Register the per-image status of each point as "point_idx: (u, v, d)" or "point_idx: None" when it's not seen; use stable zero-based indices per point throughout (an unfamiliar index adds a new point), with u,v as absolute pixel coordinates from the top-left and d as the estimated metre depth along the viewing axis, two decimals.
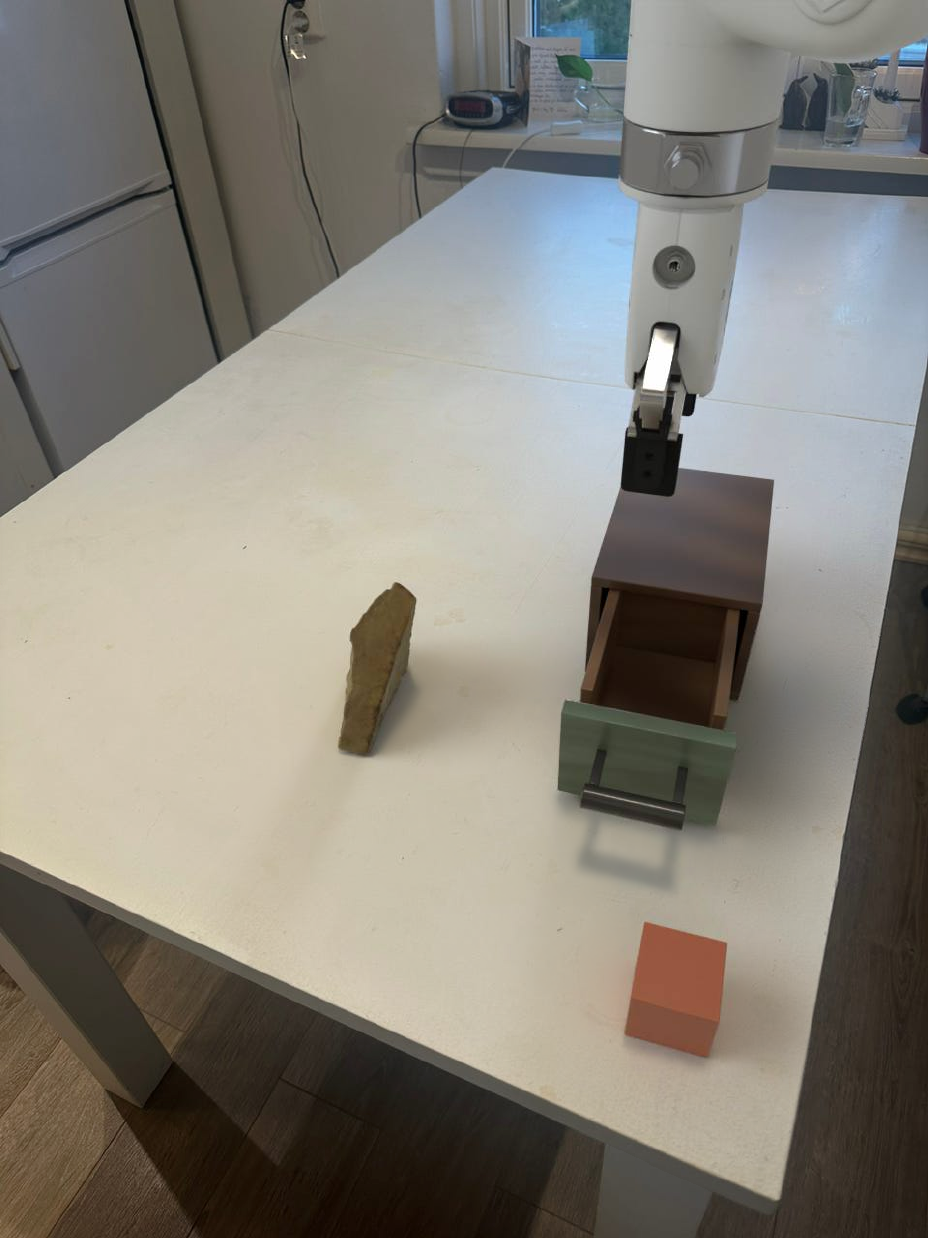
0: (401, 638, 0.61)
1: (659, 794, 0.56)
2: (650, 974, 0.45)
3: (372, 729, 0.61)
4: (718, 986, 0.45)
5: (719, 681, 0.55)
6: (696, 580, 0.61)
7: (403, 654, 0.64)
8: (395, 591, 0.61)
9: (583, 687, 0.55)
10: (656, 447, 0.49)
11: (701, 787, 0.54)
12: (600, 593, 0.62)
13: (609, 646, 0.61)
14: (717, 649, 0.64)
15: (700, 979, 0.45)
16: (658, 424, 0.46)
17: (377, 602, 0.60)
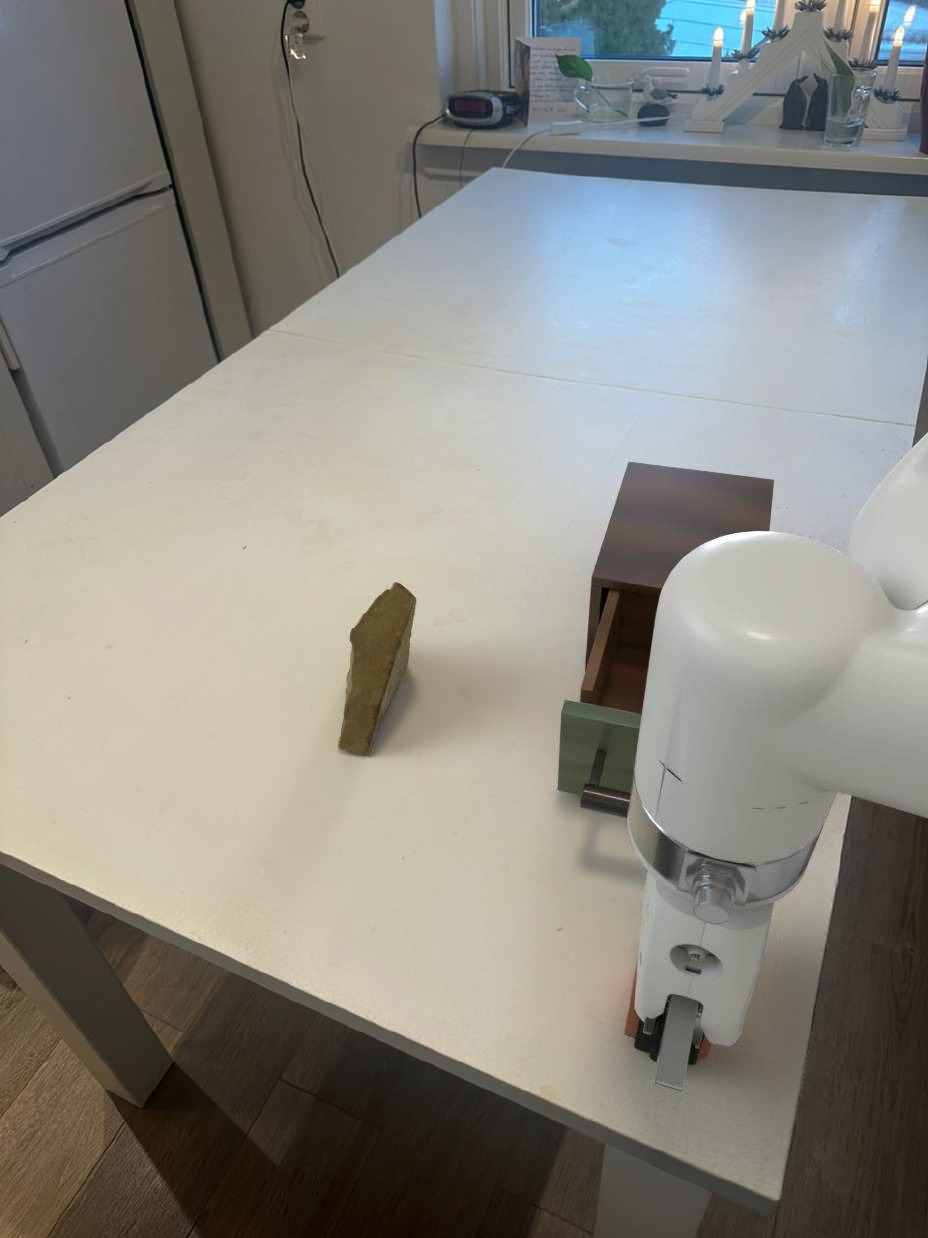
0: (401, 638, 0.61)
1: None
2: None
3: (372, 729, 0.61)
4: None
5: None
6: None
7: (403, 654, 0.64)
8: (395, 591, 0.61)
9: (583, 687, 0.55)
10: None
11: None
12: (600, 593, 0.62)
13: (609, 646, 0.61)
14: None
15: None
16: None
17: (377, 602, 0.60)
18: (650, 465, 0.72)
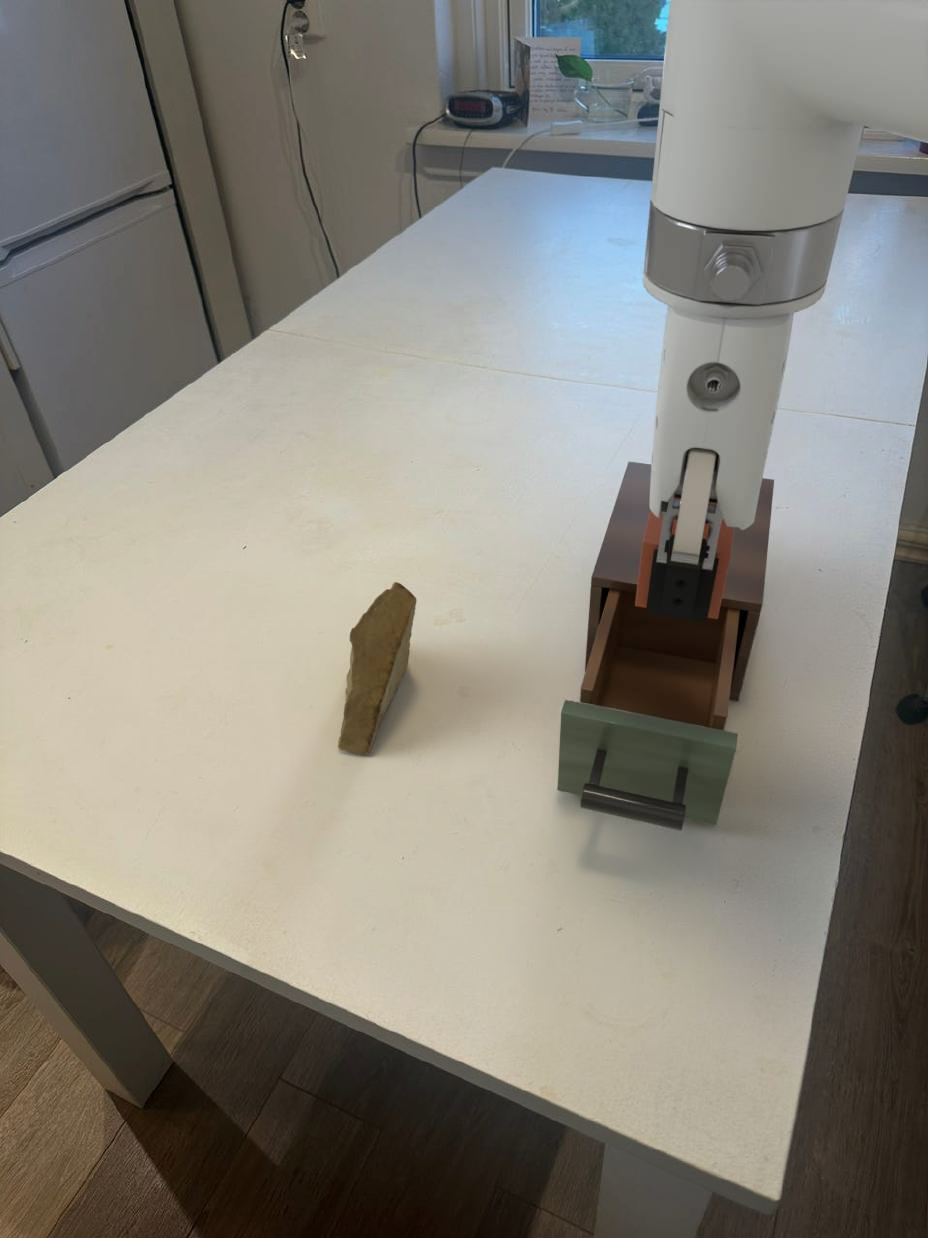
0: (401, 638, 0.61)
1: (659, 794, 0.56)
2: (661, 527, 0.45)
3: (372, 729, 0.61)
4: (728, 532, 0.45)
5: (719, 681, 0.55)
6: None
7: (403, 654, 0.64)
8: (395, 591, 0.61)
9: (583, 687, 0.55)
10: (688, 574, 0.43)
11: (701, 787, 0.54)
12: (600, 593, 0.62)
13: (609, 646, 0.61)
14: (717, 649, 0.64)
15: None
16: None
17: (377, 602, 0.60)
18: (650, 465, 0.72)
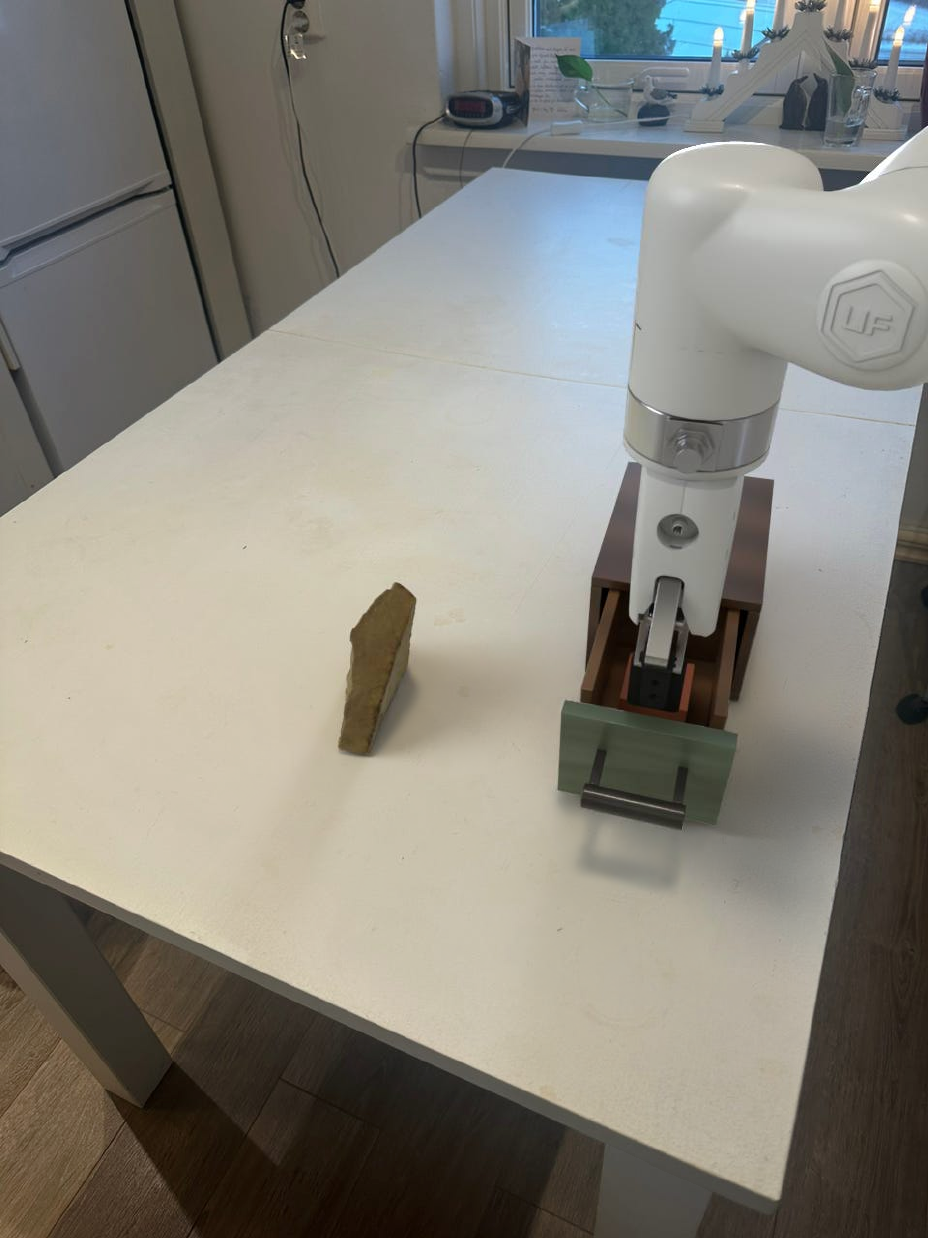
0: (401, 638, 0.61)
1: (659, 794, 0.56)
2: None
3: (372, 729, 0.61)
4: (687, 689, 0.57)
5: (719, 681, 0.55)
6: None
7: (403, 654, 0.64)
8: (395, 591, 0.61)
9: (583, 687, 0.55)
10: (661, 676, 0.51)
11: (701, 787, 0.54)
12: (600, 593, 0.62)
13: (609, 646, 0.61)
14: (717, 649, 0.64)
15: None
16: (663, 670, 0.48)
17: (377, 602, 0.60)
18: None
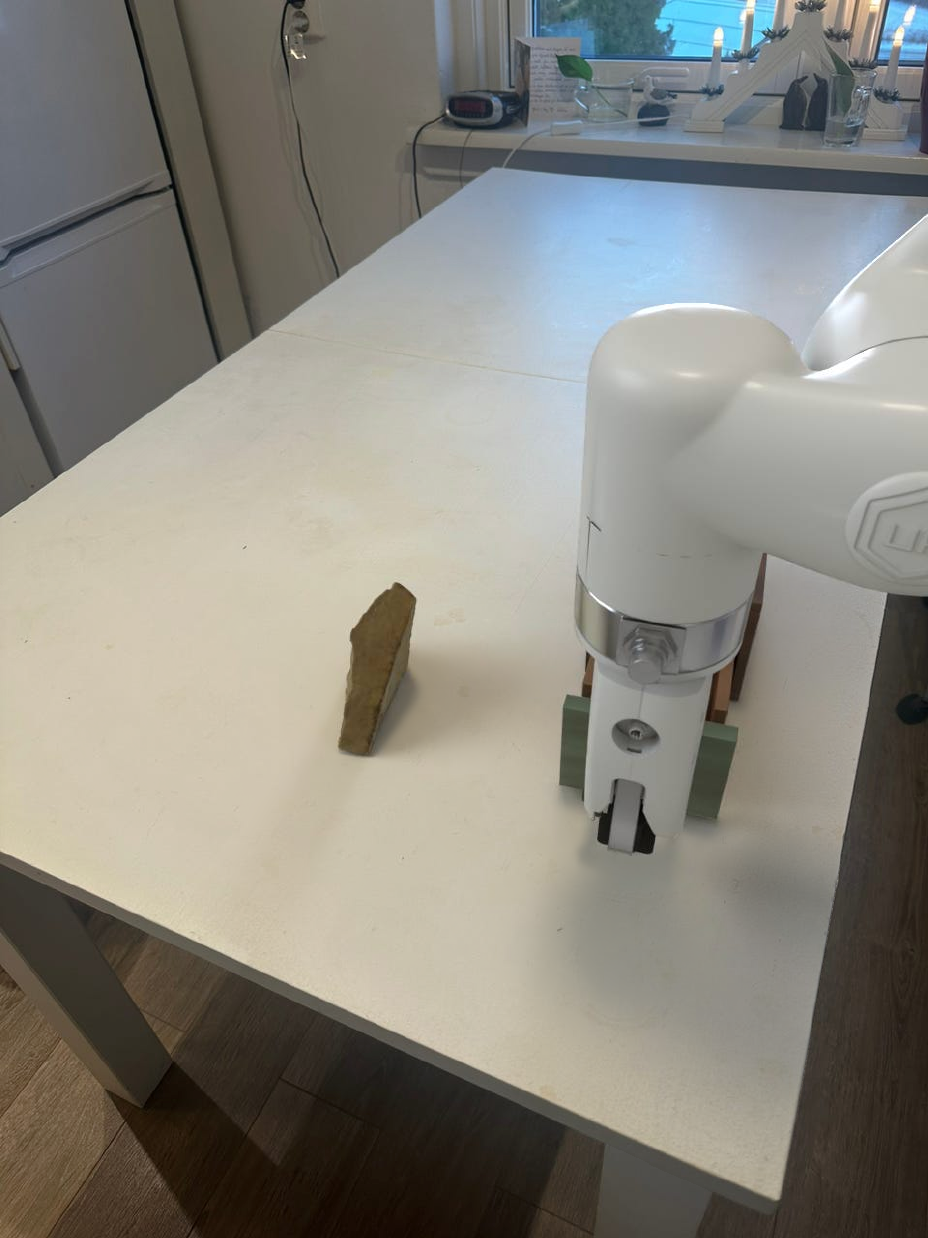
0: (401, 638, 0.61)
1: None
2: None
3: (372, 729, 0.61)
4: None
5: (720, 676, 0.55)
6: None
7: (403, 654, 0.64)
8: (395, 591, 0.61)
9: (585, 682, 0.55)
10: None
11: (702, 781, 0.54)
12: None
13: None
14: None
15: None
16: None
17: (377, 602, 0.60)
18: None
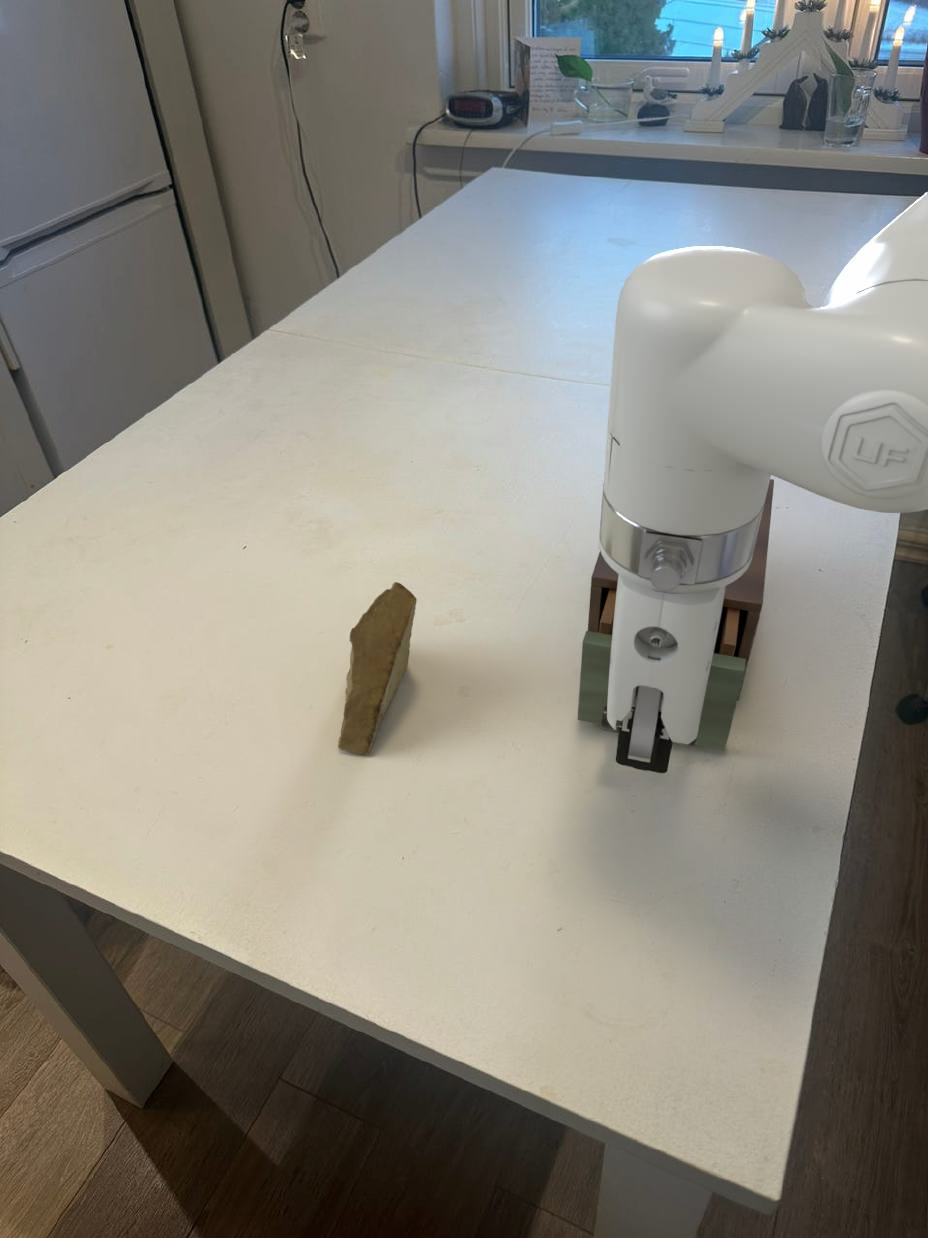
0: (401, 638, 0.61)
1: None
2: None
3: (372, 729, 0.61)
4: None
5: (728, 615, 0.59)
6: None
7: (403, 654, 0.64)
8: (395, 591, 0.61)
9: (602, 620, 0.60)
10: None
11: (712, 711, 0.58)
12: (600, 593, 0.62)
13: None
14: None
15: None
16: None
17: (377, 602, 0.60)
18: None
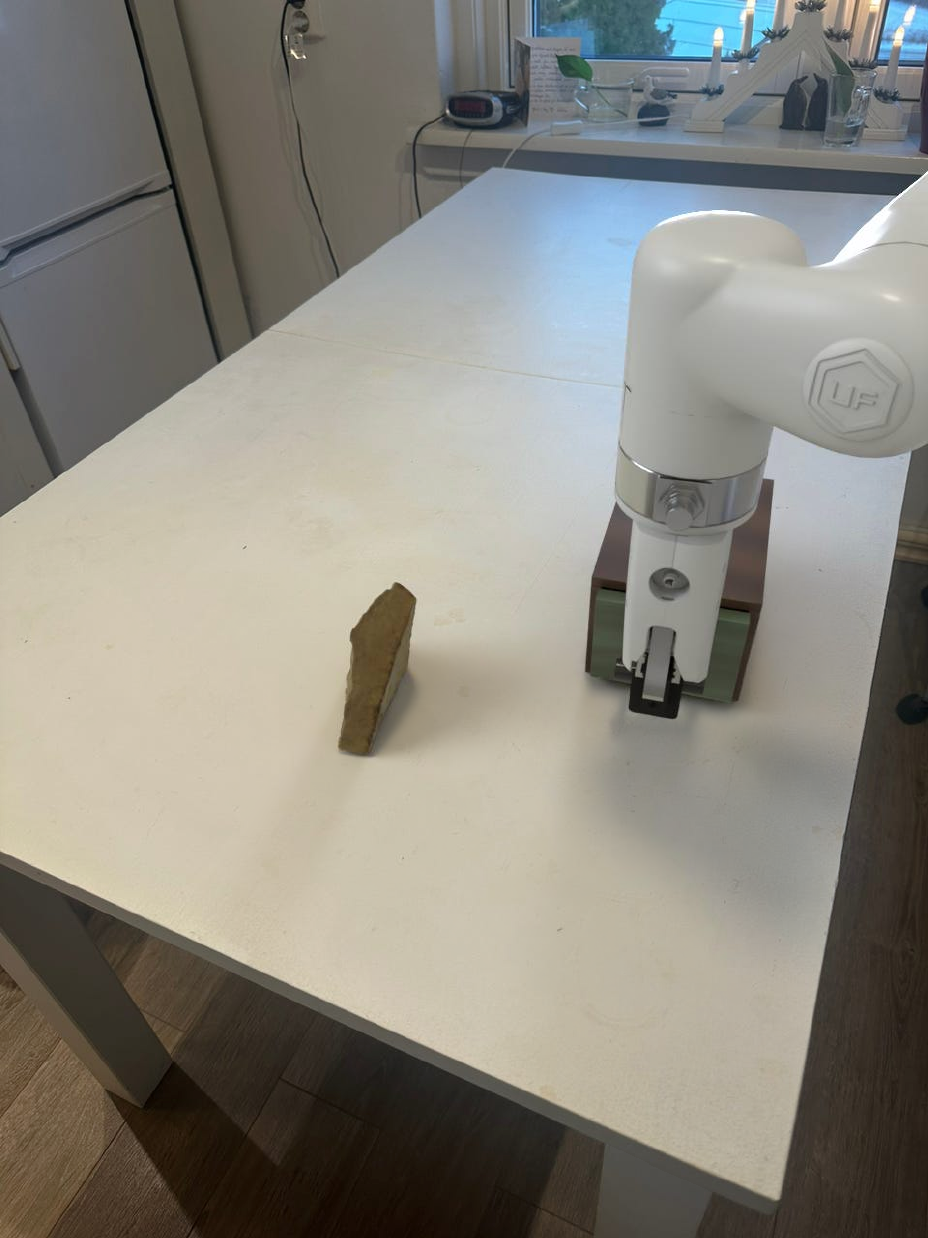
0: (401, 638, 0.61)
1: None
2: None
3: (372, 729, 0.61)
4: None
5: None
6: None
7: (403, 654, 0.64)
8: (395, 591, 0.61)
9: None
10: None
11: (718, 665, 0.62)
12: None
13: None
14: None
15: None
16: None
17: (377, 602, 0.60)
18: None
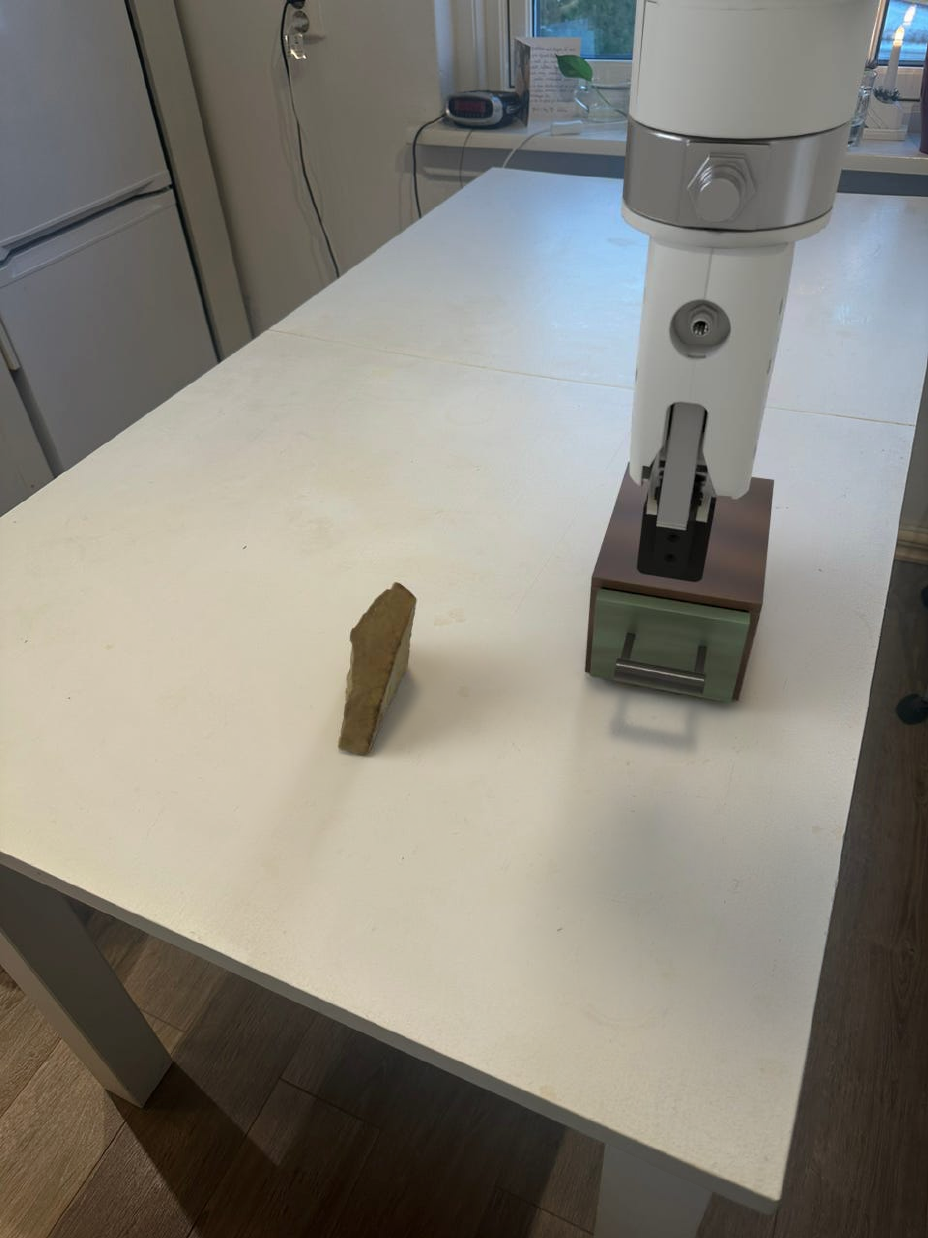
0: (401, 638, 0.61)
1: None
2: None
3: (372, 729, 0.61)
4: None
5: None
6: None
7: (403, 654, 0.64)
8: (395, 591, 0.61)
9: None
10: None
11: (718, 665, 0.62)
12: None
13: None
14: None
15: None
16: None
17: (377, 602, 0.60)
18: None
